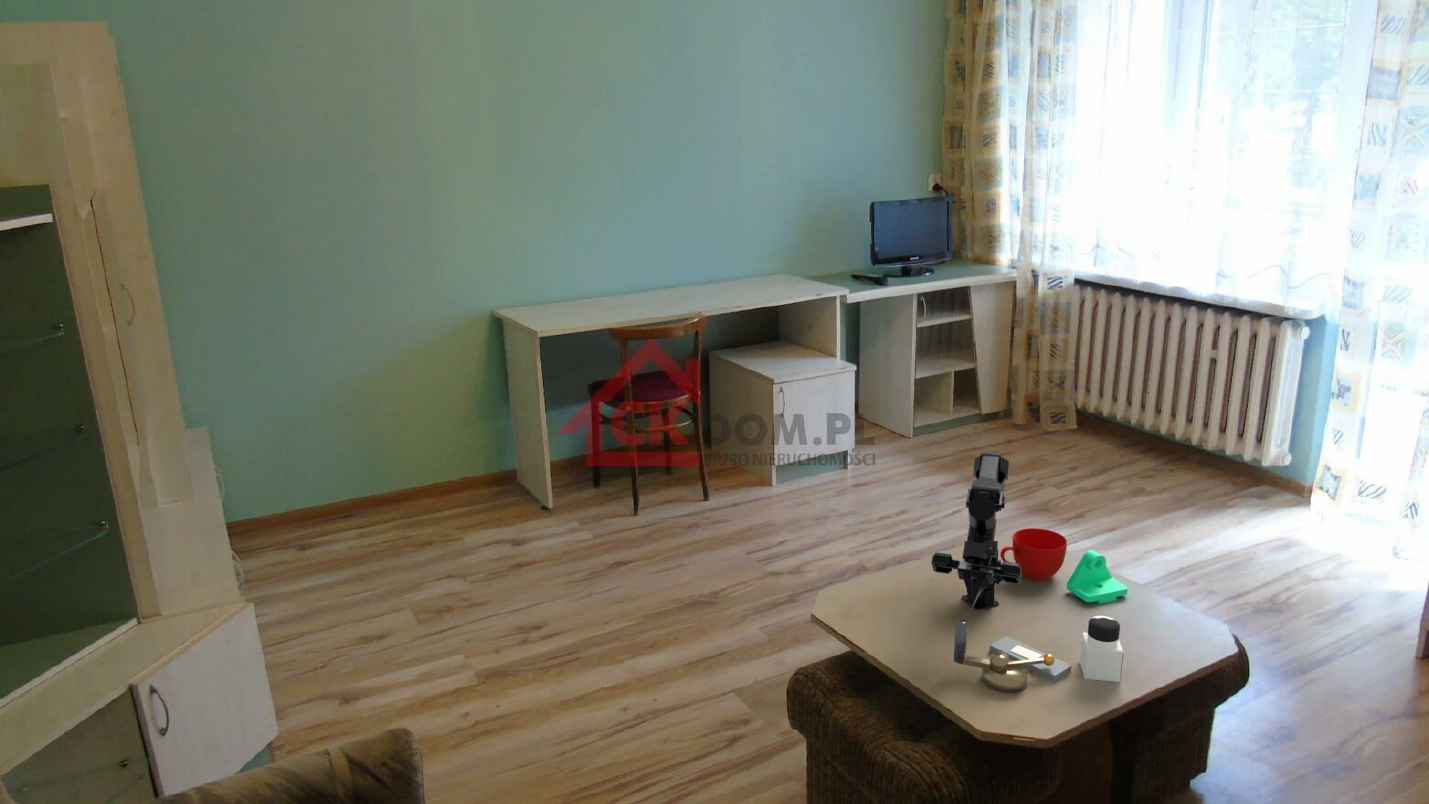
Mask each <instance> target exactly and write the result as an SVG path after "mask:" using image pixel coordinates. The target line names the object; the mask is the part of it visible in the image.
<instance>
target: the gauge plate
mask: <svg viewBox="0 0 1429 804" xmlns="http://www.w3.org/2000/svg"><path fill="white" fill-rule="evenodd" d="M995 651H1001V652H1004V653H1006V654H1008V656H1009V659H1011V660H1014V661H1021V660H1029V659H1037V658H1043V656H1044V655H1046V654H1047V653H1045V652H1042V651H1041V650H1039V649H1036V648H1034V647H1032V646H1030V645H1027V644H1025V643H1024V642H1022V641H1018V640H1017V639H1014V638H1013V637H1010V636H1008V635H1006V636H1004V637H1002V638H1000V639H999V640H997V641H995V642H993V643H992V644H990V645H989V652H991V653H992V652H995ZM1054 659H1055V662H1054V664H1053V665H1051V666H1047V665H1045V664H1044V663H1042V664H1034V665H1026V666H1025V668H1026V669H1027V671H1029V672H1032V673H1034V674H1036V675H1039V676H1041V677H1042V678H1045V679H1047V680H1049V681H1051V682H1052V683H1056V682H1058V681H1059V680H1060V679H1063V678H1064V677H1065V676H1067V675H1068V674H1070V673H1072V665H1071V664H1069V663H1067V662H1065V661H1062V660H1061V659H1058V658H1056V657H1054Z"/></svg>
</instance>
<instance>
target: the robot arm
mask: <svg viewBox="0 0 1429 804" xmlns="http://www.w3.org/2000/svg"><path fill="white" fill-rule="evenodd" d="M972 473H973V474H972V475H973V477H974V478H975V480H973V481H972V483H971V488H968V490H967V496H966V500H965V508H967V511H968V522H969V524H968V532H967V538H966V540H964V544H963V551H962V559H963V560H958V559H957V560H956V559H953V556H952V554H950V553H943V552H938V551H937V552H934V553H933V554H932V557H931V566H932V570H933V572H935V573H938V574H939V573H940V574H944V575H945V574H946V575H947V574H951V573H952V572H953V570H957V575H958V579H960V580H963V582H964V586H965V588H966V589H965V590H966V593H967V594H964V595H961V599H962V600H964V601H965V602H966V603H967V604H968V606H969V607H972V608H974V610H980V609H981V610H982V609H987V608H991V607H995V606H999V605H1000V602H999V601H998V600H996V599H995V592H996V590H995V586H996V584H997V585H1000V583H1002V582H1003V581H1004V582H1005V583H1008V584H1013V585H1014V584H1015V585H1021V583H1022V582H1021V581H1022V574H1023V573H1022V572H1021V566H1020V565H1019V564H1016V562H1011V563H1009V562H1010V561H1008V562H1004V561H1002V559H999V549H998V548H999V547H998V546H999V545H998V544H999V541H998V540H995V537H996V529H997V522H998V521H997V513H998V512H1002V509H1005V507H1006V506H1005V505H1006V496H1005V493H1004V492H1003V490H1005V486H1006V480H1007V481H1008V480H1009V475H1010V474H1009V473H1010V461H1009V460H1008V459H1006V458H1004V456H1003V454H1000V453H998V452H987V451H986V452H985V451H984V452H980V455H979V456H977V457H975V458H974V460H973V472H972ZM1001 561H1002V562H1001Z"/></svg>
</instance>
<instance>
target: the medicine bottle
mask: <svg viewBox="0 0 1429 804" xmlns="http://www.w3.org/2000/svg"><path fill="white" fill-rule="evenodd" d="M1087 627H1088V628H1087V632H1082V634H1081V641H1080V651H1079V665H1080V667H1081V671H1082V676H1083V679H1084V680H1091V681H1104V682H1113V683H1114V682H1115V683H1121V680H1122V671H1123V660H1124V655H1125V654H1124V649H1123V647H1122V644H1121V641H1120V631H1121V630H1120V629H1121V624H1120V623H1119V622H1118V621H1117V620H1116V619H1114V618H1112V617H1110V616H1107V615H1096V616H1093V617H1091V618H1090V619H1089V620H1088V626H1087Z"/></svg>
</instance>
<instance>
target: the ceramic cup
mask: <svg viewBox="0 0 1429 804" xmlns="http://www.w3.org/2000/svg"><path fill="white" fill-rule="evenodd" d="M1067 547H1068V541H1067V538H1066V537H1065V536H1064V535H1062V534H1060V533H1058V532H1056V531H1053V530H1049V529H1046V528H1045V529H1044V528H1035V527H1033V528H1031V527H1030V528H1023V529H1019V530H1017V531H1015V532H1014V533H1013V534H1012V546H1004V547H1003V548H1002V549H1001V551H1000V554H999V555H1000V558H1001V559H1000V560H1001V561H1002V562H1009V563H1012V562H1010V561H1008V560H1007V559H1006V558H1005V554H1006V552H1008V551H1012V554H1013V560H1014V563H1016V564H1019V565H1020V566H1021V572H1022V574H1023V576H1024V577H1025V578H1027V579H1028V580H1032V581H1037V582H1045V581H1048V580H1050V579H1051V578H1052V577H1054V576H1055V575H1056V574H1057V573H1058V572H1059V571H1060V569H1061V568H1062V566H1063V564H1064V561H1065V558H1066V554H1067V550H1068V549H1067Z"/></svg>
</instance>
